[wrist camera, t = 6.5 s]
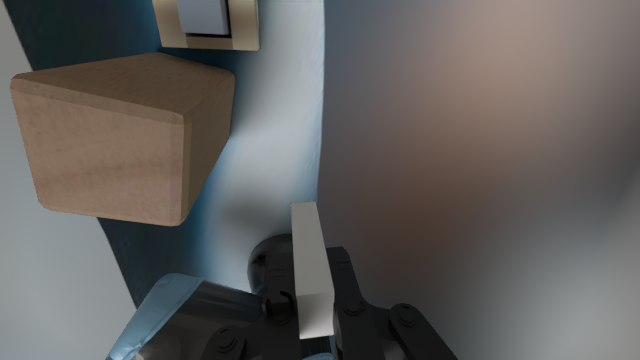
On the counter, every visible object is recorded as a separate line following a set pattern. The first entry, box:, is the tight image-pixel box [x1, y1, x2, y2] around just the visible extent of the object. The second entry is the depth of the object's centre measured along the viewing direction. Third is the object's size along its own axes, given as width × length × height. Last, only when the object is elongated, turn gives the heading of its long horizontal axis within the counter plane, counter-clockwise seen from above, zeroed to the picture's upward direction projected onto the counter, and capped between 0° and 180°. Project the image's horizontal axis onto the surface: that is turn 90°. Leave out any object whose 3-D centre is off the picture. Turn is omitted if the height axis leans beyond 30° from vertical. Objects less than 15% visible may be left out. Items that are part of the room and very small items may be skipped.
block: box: [10, 52, 236, 226], centre depth 27 cm, size 10×10×20 cm
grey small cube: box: [176, 0, 231, 34], centre depth 27 cm, size 4×4×4 cm
